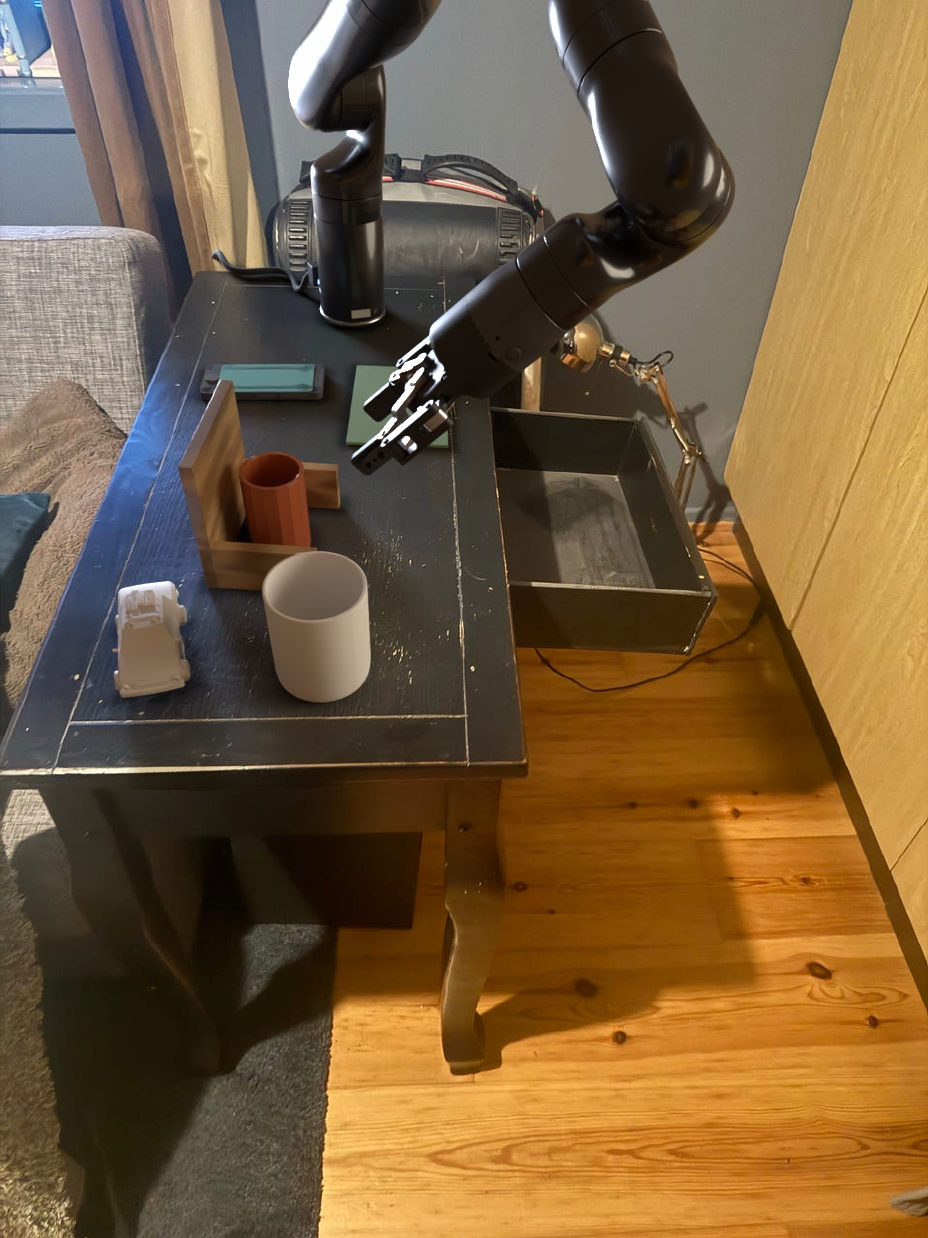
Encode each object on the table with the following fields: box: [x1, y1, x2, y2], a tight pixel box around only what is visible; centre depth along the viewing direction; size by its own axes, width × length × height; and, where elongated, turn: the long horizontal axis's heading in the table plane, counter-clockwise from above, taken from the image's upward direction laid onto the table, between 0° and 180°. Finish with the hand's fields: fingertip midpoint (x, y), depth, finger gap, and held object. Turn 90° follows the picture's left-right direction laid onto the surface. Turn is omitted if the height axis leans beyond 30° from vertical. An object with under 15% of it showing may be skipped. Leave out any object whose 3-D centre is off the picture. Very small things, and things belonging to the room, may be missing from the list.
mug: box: [261, 550, 372, 704], centre depth 70 cm, size 12×8×10 cm
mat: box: [345, 364, 449, 449], centre depth 103 cm, size 18×12×1 cm, turn 1°
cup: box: [239, 451, 312, 547], centre depth 81 cm, size 6×6×9 cm
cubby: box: [178, 380, 341, 592], centre depth 79 cm, size 11×14×14 cm
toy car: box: [111, 580, 191, 698], centre depth 70 cm, size 6×12×7 cm, turn 16°
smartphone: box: [199, 363, 325, 401], centre depth 104 cm, size 7×1×15 cm
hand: (364, 439), depth 75 cm, fingers open, 8 cm apart
